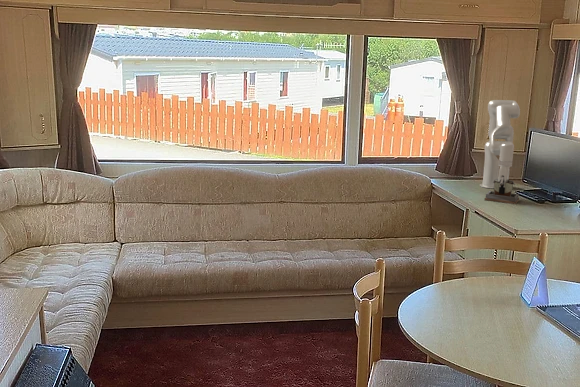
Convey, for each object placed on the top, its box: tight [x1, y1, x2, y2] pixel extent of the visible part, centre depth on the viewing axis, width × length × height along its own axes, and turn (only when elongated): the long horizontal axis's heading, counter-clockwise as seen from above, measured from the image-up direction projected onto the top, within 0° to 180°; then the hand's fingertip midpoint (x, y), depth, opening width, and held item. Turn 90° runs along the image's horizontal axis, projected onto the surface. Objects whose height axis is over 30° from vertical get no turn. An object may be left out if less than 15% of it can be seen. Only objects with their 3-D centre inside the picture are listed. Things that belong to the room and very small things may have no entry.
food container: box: [493, 179, 515, 197], centre depth 345 cm, size 12×6×10 cm, turn 70°
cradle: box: [484, 190, 520, 205], centre depth 345 cm, size 13×18×4 cm
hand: (502, 192), depth 345 cm, fingers closed on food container, 5 cm apart
